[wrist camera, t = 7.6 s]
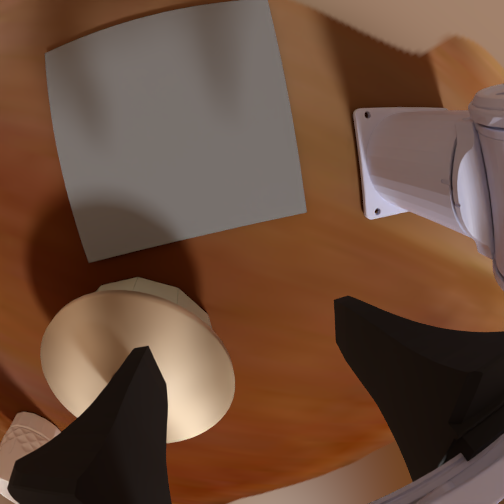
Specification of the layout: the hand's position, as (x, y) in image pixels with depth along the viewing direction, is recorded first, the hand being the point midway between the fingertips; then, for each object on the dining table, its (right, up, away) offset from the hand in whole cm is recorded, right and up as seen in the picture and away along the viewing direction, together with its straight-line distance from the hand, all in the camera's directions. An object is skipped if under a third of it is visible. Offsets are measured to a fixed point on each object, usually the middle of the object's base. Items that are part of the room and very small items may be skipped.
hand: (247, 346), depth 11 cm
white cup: (-24, -17, +13) cm, 32 cm away
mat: (-5, +11, +6) cm, 14 cm away
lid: (-7, -5, +7) cm, 11 cm away
